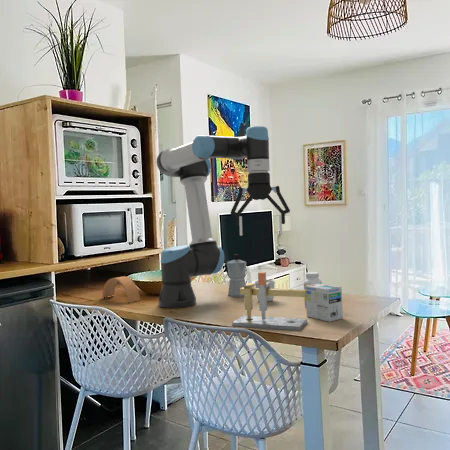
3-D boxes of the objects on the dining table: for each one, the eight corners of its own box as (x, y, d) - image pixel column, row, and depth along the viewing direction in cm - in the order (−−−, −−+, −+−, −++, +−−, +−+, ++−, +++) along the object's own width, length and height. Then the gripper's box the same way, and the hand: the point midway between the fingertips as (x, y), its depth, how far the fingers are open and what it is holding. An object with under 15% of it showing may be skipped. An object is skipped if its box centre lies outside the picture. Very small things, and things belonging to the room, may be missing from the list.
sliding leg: (259, 319, 148) (257, 272, 148) (265, 315, 153) (263, 270, 153) (265, 320, 147) (263, 273, 147) (271, 316, 153) (269, 270, 152)
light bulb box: (343, 318, 151) (342, 286, 151) (329, 322, 147) (328, 289, 147) (319, 313, 160) (318, 282, 160) (305, 316, 156) (304, 285, 156)
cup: (273, 304, 178) (273, 283, 178) (253, 304, 180) (252, 284, 179) (276, 298, 189) (275, 279, 188) (257, 298, 190) (256, 279, 190)
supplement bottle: (326, 306, 170) (325, 272, 170) (316, 309, 166) (315, 274, 165) (311, 304, 175) (310, 271, 175) (301, 307, 170) (299, 273, 170)
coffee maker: (254, 295, 197) (253, 254, 197) (238, 298, 192) (236, 255, 192) (234, 291, 210) (232, 252, 209) (218, 294, 205) (216, 253, 204)
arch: (128, 303, 192) (127, 279, 192) (102, 298, 206) (101, 276, 206) (140, 301, 197) (138, 278, 196) (113, 296, 210) (112, 274, 210)
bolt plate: (232, 326, 148) (232, 322, 148) (243, 318, 157) (243, 315, 157) (299, 330, 139) (299, 326, 139) (307, 322, 148) (306, 318, 148)
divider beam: (238, 319, 151) (236, 285, 151) (243, 315, 156) (242, 282, 155) (303, 323, 142) (302, 287, 142) (307, 319, 147) (306, 284, 146)
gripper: (221, 173, 154) (223, 236, 155) (296, 170, 151) (298, 234, 152) (223, 175, 161) (225, 235, 162) (294, 171, 159) (297, 232, 160)
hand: (260, 234), depth 157 cm, fingers open, 13 cm apart
